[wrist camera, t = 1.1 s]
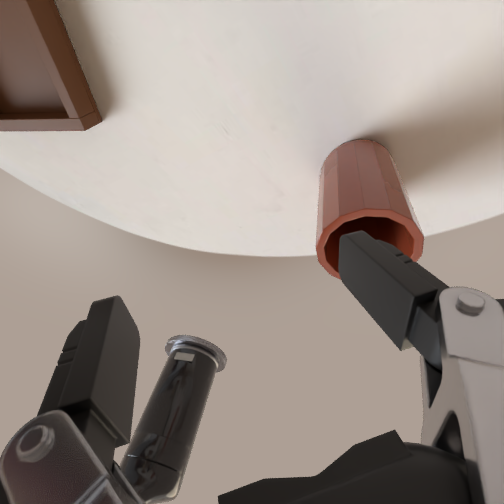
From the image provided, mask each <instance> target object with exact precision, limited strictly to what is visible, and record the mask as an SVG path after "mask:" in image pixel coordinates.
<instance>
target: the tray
mask: <svg viewBox="0 0 504 504" xmlns="http://www.w3.org/2000/svg"><path fill="white" fill-rule="evenodd" d="M100 122H102V118H101V116H100V114H99V111H98V109H97V106H96V104H95V101H94V99H93V96H92V94H91V91H90V89H89V86H88V84H87V81H86V79H85V76H84V74H83V71H82V69H81V66H80V64H79V61H78V59H77V56H76V54H75V52H74V49H73V47H72V44H71V42H70V39H69V37H68V34H67V32H66V29H65V27H64V24H63V22H62V19H61V17H60V14H59V12H58V9H57V7H56V4H55V2H54V0H0V131H86V130H87V129H89V128H91V127H93V126H95V125H97V124H99V123H100Z"/></svg>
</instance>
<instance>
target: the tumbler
mask: <svg viewBox="0 0 504 504" xmlns="http://www.w3.org/2000/svg"><path fill="white" fill-rule="evenodd" d="M360 230H363V231H365V232H366V233H367V234H369V235H370V236H371V237H372V238H374V239H375V240H378V239H379V240H381V241H384V242H387V243H389V244H392V245H394V246H395V247H396V248H398V249H399V250H400V251H402V252H403V253H404V255H407V256H408V257H410V258H411V259H412V260H413V262H417V261H418V259H419V258H420V257H421V255H422V252H423V241H424V235H423V233H422V230H421V228H420V225H419V223H418V220H417V217H416V215H415V212H414V210H413V207H412V205H411V202H410V200H409V197H408V194H407V192H406V189H405V187H404V184H403V182H402V179H401V177H400V174H399V172H398V169H397V166H396V164H395V162H394V160H393V158H392V156H391V154H390V153H389V151H388V150H387V149H386V148H385V147H384V146H382V145H381V144H379V143H377V142H375V141H371V140H363V139H361V140H353V141H350V142H347V143H344V144H342V145H340V146H339V147H337V148H336V149H334V150H333V151H332V152H331V153H330V154H329V156H328V157H327V158H326V160H325V161H324V164H323V166H322V169H321V174H320V183H319V200H318V216H317V233H316V251H317V256H318V261H319V263H320V264H321V265H322V266H323V267H324V268H325V270H326V271H327V272H328V273H329V274H331V275H332V276H334V277H336V278H339V279H341V278H340V275H339V270H338V265H339V241H340V237H341V236H342V235H345V234H349V233H352V232H356V231H360Z"/></svg>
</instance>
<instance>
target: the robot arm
mask: <svg viewBox="0 0 504 504" xmlns="http://www.w3.org/2000/svg"><path fill="white" fill-rule="evenodd" d="M338 270H339V275H340V278H341V280H342V282H343V283H344V285H345V286H346V287H347V288H348V289H349V291H350V292H351V293H352V294H353V295H354V297H355V298H356V299H357V300H358V301H359V303H360V304H361V305H362V306H363V307H364V308H365V310H366V311H367V312H368V313H369V314H370V315H371V317H372V318H373V319H374V320H375V321H376V323H377V324H378V325H379V326H380V327H381V328H382V330H383V331H384V332H385V333H386V334H387V335H388V337H389V338H390V339H391V340H392V341H393V342H394V344H395V345H396V346H397V347H398V348H399V350H400V351H402V350H405V349H408V348H411V347H415V348H416V349H417V350H418V351H419V352H420V354H421V356H420V368H421V383H422V398H423V426H422V433H421V444H419V443H409V442H403V441H402V440H401V438H400V437H399V435H398V434H397V432H396V431H395V430H393V431H390V432H387V433H385V434H383V435H379V436H377V437H374V438H372V439H369V440H366V441H364V442H361V443H358V444H355V445H354V446H352V447H351V448H350V449H349V450H348V451H346V452H345V453H344V454H343V455H342V456H340V457H339V458H338V459H337V460H335V461H334V462H333V463H332V464H331V465H330V466H328V467H327V468H326V469H325V470H323V471H322V472H321V473H320V474H318V475H316V476H313V477H294V478H270V479H269V478H268V479H262V480H259V481H257V482H254V483H251V484H249V485H246V486H243V487H241V488H238V489H235V490H233V491H230V492H227V493H225V494H222V495H219V496H218V502H219V504H504V299H494V298H493V297H491V296H490V295H488V294H486V293H484V292H482V291H479V290H476V289H473V288H468V287H449V286H447V285H446V284H445V283H443V282H442V281H441V280H439V279H438V278H436V277H435V276H434V275H432V274H431V273H430V272H428V271H427V270H426V269H424V268H423V267H422V266H420V265H419V264H418V263H416V262H413V260H412V259H411V258H410V257H408V256H407V255H404V253H403V252H402V251H400V250H399V249H398V248H396V247H395V246H394V245H392V244H389V243H387V242H384V241H381V240H379V239H378V240H375V239H374V238H372V237H371V236H370V235H369V234H367V233H366V232H365V231H363V230H360V231H356V232H352V233H349V234H345V235H342V236H341V237H340V241H339V265H338ZM139 349H140V336H139V331H138V328H137V326H136V324H135V322H134V320H133V319H132V317H131V315H130V313H129V311H128V309H127V307H126V306H125V304H124V302H123V300H122V299H121V297H120V296H113V297H110V298H106V299H102V300H98V301H94V302H93V303H92V305H91V308H90V311H89V314H88V316H87V319H86V320H83V321H80V322H79V323H78V324H77V325H76V326H75V328H74V329H73V330H72V331H71V333H70V334H69V335H68V337H67V339H66V342H65V345H64V347H63V350H62V351H63V353H61V355H60V358H59V360H58V366H56V368H55V371H54V373H53V376H52V378H51V381H50V384H49V386H48V389H47V391H46V394H45V396H44V399H43V402H42V404H41V407H40V409H39V412H38V415H37V417H35V418H33V419H32V420H30V421H29V422H28V423H26V424H25V425H24V426H23V427H22V428H21V429H20V430H19V431H18V432H17V433H16V434H15V435H14V436H13V437H12V438H11V440H10V441H9V442H8V444H7V445H6V447H5V449H4V451H3V452H2V455H1V457H0V504H156V503H162V502H168V501H172V500H174V499H175V498H176V497H177V495H178V493H179V490H180V487H181V484H182V480H183V476H184V474H185V470H186V467H187V464H188V460H189V457H190V454H191V450H192V447H193V444H194V441H195V437H196V434H197V431H198V428H199V425H200V421H201V418H202V415H203V412H204V408H205V405H206V402H207V398H208V395H209V392H210V389H211V386H212V383H213V379H214V376H215V373H216V370H217V368H218V365H219V363H218V360H217V358H216V357H215V356H214V355H212V354H211V353H210V352H208V351H206V350H204V349H202V348H200V347H197V346H193V345H187V344H180V345H176V346H174V347H173V348H172V349H171V351H170V355H169V357H168V360H167V362H166V364H165V366H164V368H163V371H162V372H161V375H160V377H159V379H158V381H157V384H156V386H155V388H154V390H153V392H152V395H151V397H150V399H149V402H148V404H147V406H146V408H145V410H144V413H143V415H142V417H141V419H140V421H139V424H138V426H137V428H136V430H135V432H134V435H133V437H132V439H131V441H130V436H131V435H130V434H131V426H132V417H133V407H134V397H135V388H136V377H137V368H138V359H139ZM128 443H129V446H128V448H127V450H126V452H125V455H124V457H123V459H122V461H121V463H120V466H119V465H118V464H117V463H116V462H115V461H114V460H113V457H114V450H115V448H117V447H119V446H122V445H126V444H128Z"/></svg>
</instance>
